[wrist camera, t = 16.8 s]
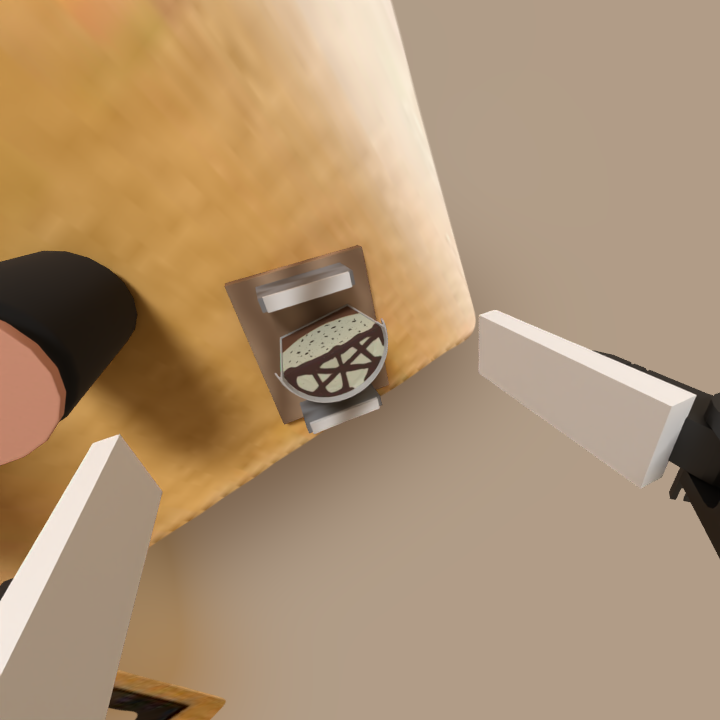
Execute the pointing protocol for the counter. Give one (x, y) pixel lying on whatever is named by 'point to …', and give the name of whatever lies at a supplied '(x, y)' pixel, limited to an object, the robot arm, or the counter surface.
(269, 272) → the holder
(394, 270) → the counter surface
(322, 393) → the food container
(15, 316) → the coffee jar
